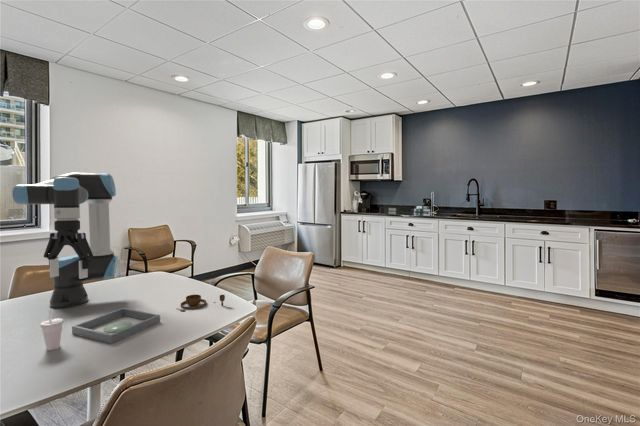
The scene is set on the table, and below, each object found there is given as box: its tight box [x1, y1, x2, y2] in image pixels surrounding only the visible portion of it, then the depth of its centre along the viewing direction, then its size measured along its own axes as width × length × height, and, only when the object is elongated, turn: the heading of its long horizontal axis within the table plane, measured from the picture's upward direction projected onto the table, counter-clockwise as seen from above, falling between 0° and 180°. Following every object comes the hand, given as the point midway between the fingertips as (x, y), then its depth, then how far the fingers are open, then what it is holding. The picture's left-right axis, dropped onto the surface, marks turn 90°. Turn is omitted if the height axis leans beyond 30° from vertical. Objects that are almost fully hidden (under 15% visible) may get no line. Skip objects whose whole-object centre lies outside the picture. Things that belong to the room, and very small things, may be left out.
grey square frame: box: [71, 307, 161, 345], centre depth 135 cm, size 22×22×3 cm
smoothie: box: [40, 309, 64, 351], centre depth 117 cm, size 6×6×14 cm
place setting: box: [177, 294, 226, 312], centre depth 160 cm, size 18×20×6 cm
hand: (68, 277), depth 121 cm, fingers open, 13 cm apart
